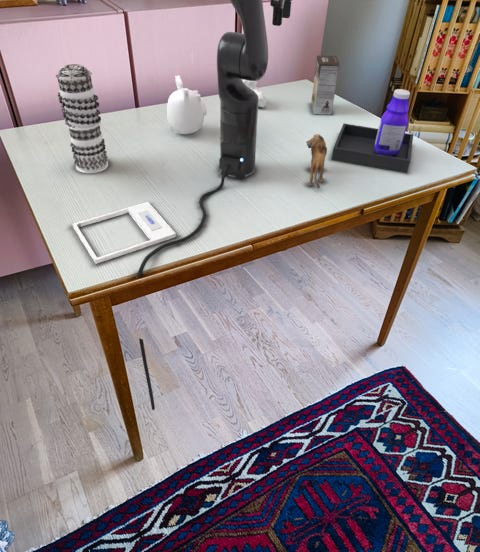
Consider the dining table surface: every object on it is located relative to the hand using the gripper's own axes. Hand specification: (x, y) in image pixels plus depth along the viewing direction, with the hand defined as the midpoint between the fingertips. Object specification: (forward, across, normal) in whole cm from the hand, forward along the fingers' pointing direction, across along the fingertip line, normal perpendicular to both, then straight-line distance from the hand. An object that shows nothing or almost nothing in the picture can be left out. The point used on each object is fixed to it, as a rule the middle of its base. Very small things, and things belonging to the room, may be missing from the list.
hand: (281, 21), depth 116 cm
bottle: (+32, +4, -33) cm, 46 cm away
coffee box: (+32, +30, -9) cm, 45 cm away
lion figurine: (+32, -15, -16) cm, 39 cm away
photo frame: (+32, -56, +18) cm, 67 cm away
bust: (+32, +25, +14) cm, 43 cm away
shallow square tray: (+32, +4, -29) cm, 43 cm away
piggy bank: (+32, -3, +26) cm, 42 cm away
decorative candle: (+32, -32, +41) cm, 61 cm away
